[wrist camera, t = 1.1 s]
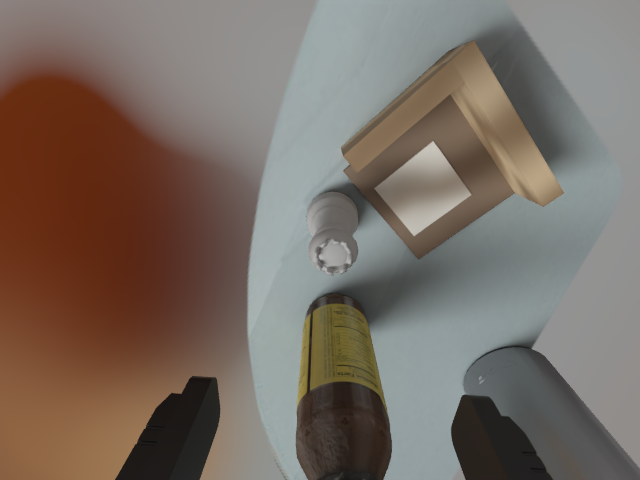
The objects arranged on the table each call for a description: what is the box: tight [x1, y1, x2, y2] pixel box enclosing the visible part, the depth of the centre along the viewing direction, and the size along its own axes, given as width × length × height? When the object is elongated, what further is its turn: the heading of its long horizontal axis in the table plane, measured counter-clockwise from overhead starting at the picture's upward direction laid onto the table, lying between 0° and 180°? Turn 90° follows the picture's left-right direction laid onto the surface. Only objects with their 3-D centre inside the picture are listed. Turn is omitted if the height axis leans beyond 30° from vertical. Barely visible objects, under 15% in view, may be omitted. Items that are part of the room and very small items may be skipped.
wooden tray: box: [341, 41, 564, 259], centre depth 23 cm, size 12×11×4 cm
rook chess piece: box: [306, 192, 359, 276], centre depth 23 cm, size 4×4×8 cm
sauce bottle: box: [296, 294, 392, 480], centre depth 22 cm, size 6×6×20 cm
